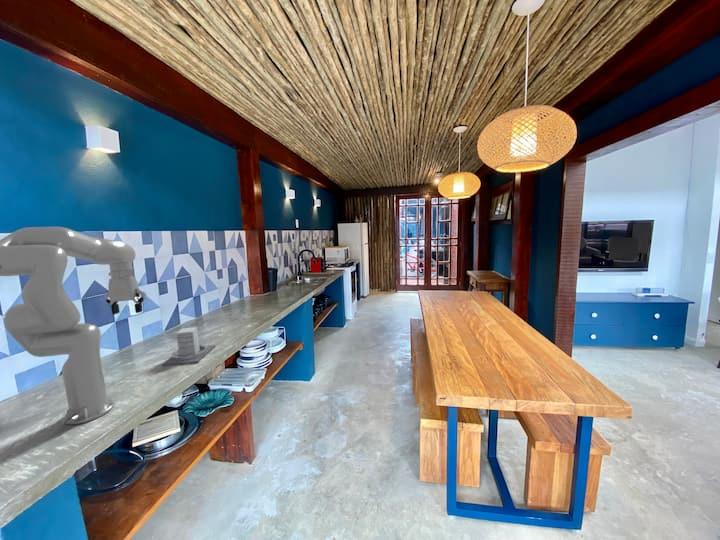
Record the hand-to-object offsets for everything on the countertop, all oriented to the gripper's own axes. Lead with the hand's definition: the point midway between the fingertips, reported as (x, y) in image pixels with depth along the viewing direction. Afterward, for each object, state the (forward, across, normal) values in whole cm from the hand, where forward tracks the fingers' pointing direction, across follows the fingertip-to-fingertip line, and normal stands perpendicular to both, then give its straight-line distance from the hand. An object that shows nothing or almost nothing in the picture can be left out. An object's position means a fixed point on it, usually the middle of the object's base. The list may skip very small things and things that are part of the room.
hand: (127, 312), depth 126 cm
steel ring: (+27, +17, +14) cm, 35 cm away
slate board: (+27, +17, +14) cm, 35 cm away
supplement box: (+26, +17, +14) cm, 34 cm away
